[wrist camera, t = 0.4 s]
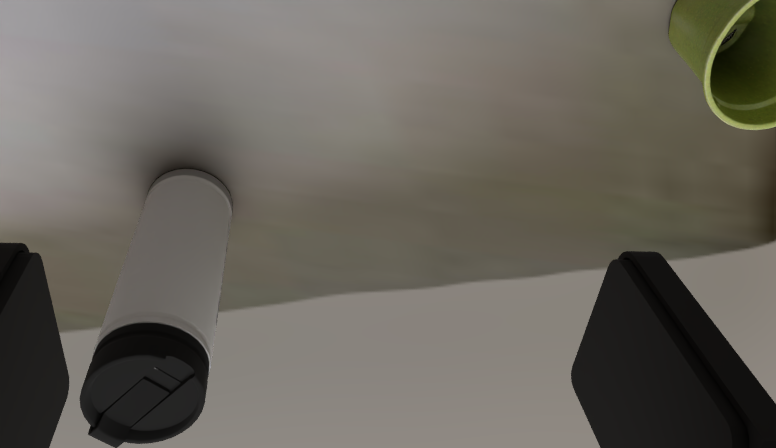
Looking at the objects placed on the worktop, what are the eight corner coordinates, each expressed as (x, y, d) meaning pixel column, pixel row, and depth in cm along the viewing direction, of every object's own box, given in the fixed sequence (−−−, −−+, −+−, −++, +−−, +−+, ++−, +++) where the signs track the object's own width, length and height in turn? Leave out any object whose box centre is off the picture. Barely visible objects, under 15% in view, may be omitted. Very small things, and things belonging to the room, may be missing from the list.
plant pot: (616, 31, 47) (674, 78, 40) (723, -86, 43) (808, -58, 36) (695, 101, 51) (760, 155, 44) (799, 0, 47) (889, 40, 40)
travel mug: (127, 206, 50) (46, 418, 33) (184, 151, 48) (128, 348, 32) (193, 252, 53) (148, 467, 37) (249, 202, 51) (229, 406, 35)
